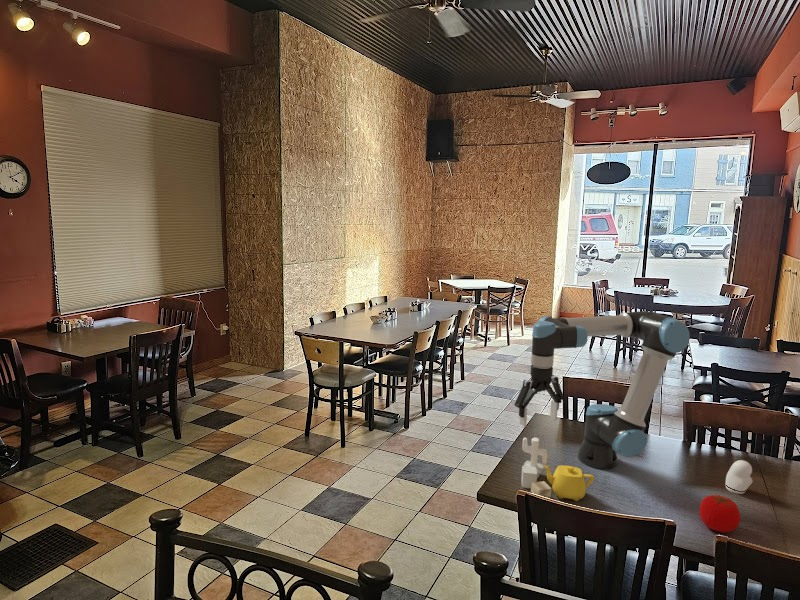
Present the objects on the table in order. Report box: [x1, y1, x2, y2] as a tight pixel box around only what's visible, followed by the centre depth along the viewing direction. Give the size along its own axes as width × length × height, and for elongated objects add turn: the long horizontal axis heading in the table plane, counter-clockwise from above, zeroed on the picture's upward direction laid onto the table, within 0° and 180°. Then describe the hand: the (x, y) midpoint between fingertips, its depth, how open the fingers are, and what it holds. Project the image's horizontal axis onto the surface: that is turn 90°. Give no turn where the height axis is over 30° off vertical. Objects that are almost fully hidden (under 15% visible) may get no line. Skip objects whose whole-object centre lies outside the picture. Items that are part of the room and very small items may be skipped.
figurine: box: [521, 436, 548, 480], centre depth 201 cm, size 7×9×15 cm
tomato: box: [699, 494, 741, 534], centre depth 171 cm, size 11×12×10 cm
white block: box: [520, 465, 538, 489], centre depth 195 cm, size 5×5×6 cm
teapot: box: [542, 464, 595, 502], centre depth 189 cm, size 18×11×11 cm, turn 75°
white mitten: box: [725, 459, 753, 495], centre depth 194 cm, size 7×8×12 cm
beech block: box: [530, 480, 552, 498], centre depth 186 cm, size 5×5×5 cm
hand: (538, 421), depth 190 cm, fingers open, 13 cm apart
